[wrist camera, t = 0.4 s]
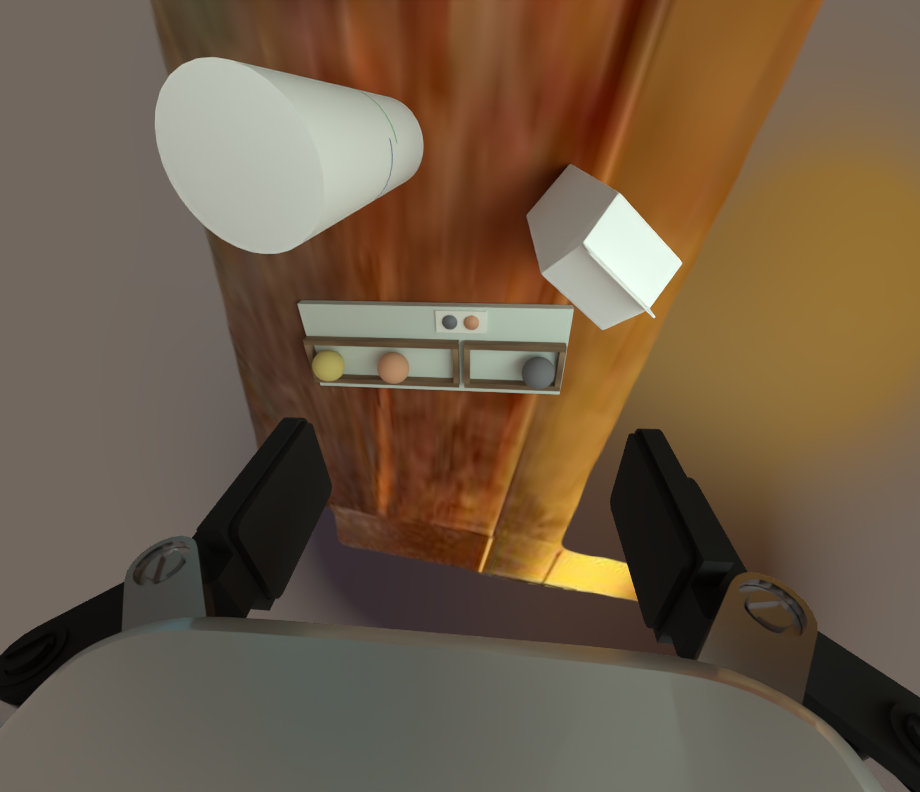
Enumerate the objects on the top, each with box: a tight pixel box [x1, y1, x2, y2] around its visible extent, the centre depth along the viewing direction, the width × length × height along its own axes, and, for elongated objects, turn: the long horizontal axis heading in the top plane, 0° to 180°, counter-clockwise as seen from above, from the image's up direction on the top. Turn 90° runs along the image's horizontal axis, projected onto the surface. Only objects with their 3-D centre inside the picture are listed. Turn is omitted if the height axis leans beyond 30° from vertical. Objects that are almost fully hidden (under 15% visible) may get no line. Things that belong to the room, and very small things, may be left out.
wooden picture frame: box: [303, 336, 460, 388], centre depth 49 cm, size 6×20×1 cm, turn 91°
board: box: [298, 300, 574, 394], centre depth 48 cm, size 12×33×2 cm, turn 91°
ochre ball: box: [312, 350, 345, 381], centre depth 48 cm, size 4×4×4 cm
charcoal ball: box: [522, 357, 555, 389], centre depth 46 cm, size 4×4×4 cm
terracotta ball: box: [377, 352, 409, 384], centre depth 48 cm, size 4×4×4 cm
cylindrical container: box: [155, 57, 423, 254], centre depth 26 cm, size 7×7×25 cm
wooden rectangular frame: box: [464, 340, 567, 391], centre depth 47 cm, size 6×12×1 cm, turn 91°
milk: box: [526, 164, 682, 330], centre depth 29 cm, size 6×6×22 cm
